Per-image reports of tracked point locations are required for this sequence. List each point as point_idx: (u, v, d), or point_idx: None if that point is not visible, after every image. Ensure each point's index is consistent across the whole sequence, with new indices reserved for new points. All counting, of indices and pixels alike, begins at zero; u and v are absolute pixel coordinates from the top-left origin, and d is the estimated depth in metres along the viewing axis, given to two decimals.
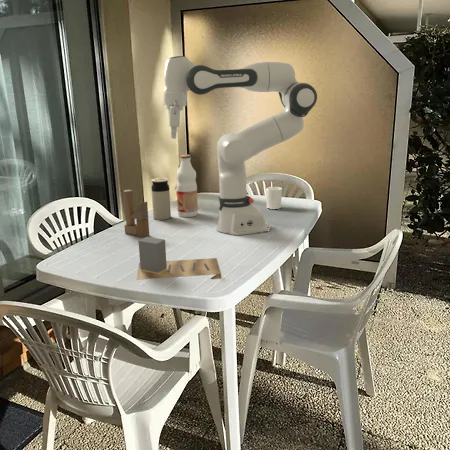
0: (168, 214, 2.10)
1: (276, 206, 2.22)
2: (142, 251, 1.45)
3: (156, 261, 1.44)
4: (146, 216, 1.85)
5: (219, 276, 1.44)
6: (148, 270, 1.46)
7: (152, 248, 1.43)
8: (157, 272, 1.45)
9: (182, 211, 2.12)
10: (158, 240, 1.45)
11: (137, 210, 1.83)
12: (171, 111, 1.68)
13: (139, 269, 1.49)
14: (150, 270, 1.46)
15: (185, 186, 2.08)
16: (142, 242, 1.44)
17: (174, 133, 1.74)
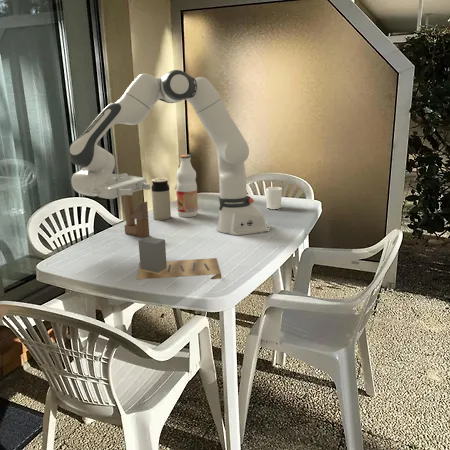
0: (168, 214, 2.10)
1: (276, 206, 2.22)
2: (142, 251, 1.45)
3: (156, 261, 1.44)
4: (146, 216, 1.85)
5: (219, 276, 1.44)
6: (148, 270, 1.46)
7: (152, 248, 1.43)
8: (157, 272, 1.45)
9: (182, 211, 2.12)
10: (158, 240, 1.45)
11: (137, 210, 1.83)
12: (99, 196, 1.55)
13: (139, 269, 1.49)
14: (150, 270, 1.46)
15: (185, 186, 2.08)
16: (142, 242, 1.44)
17: (125, 191, 1.54)
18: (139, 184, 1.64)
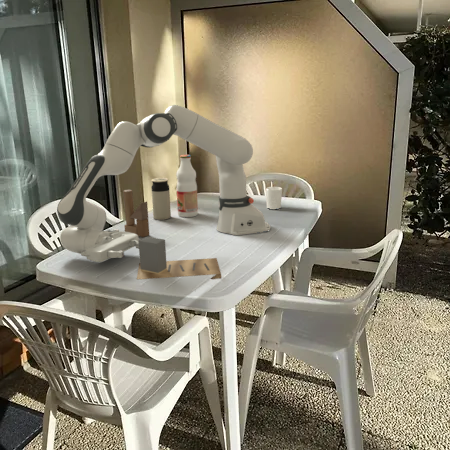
0: (168, 214, 2.10)
1: (276, 206, 2.22)
2: (142, 251, 1.45)
3: (156, 261, 1.44)
4: (146, 216, 1.85)
5: (219, 276, 1.44)
6: (148, 270, 1.46)
7: (152, 248, 1.43)
8: (157, 272, 1.45)
9: (182, 211, 2.12)
10: (158, 240, 1.45)
11: (137, 210, 1.83)
12: (88, 258, 1.48)
13: (139, 269, 1.49)
14: (150, 270, 1.46)
15: (185, 186, 2.08)
16: (142, 242, 1.44)
17: (115, 254, 1.47)
18: (131, 242, 1.57)
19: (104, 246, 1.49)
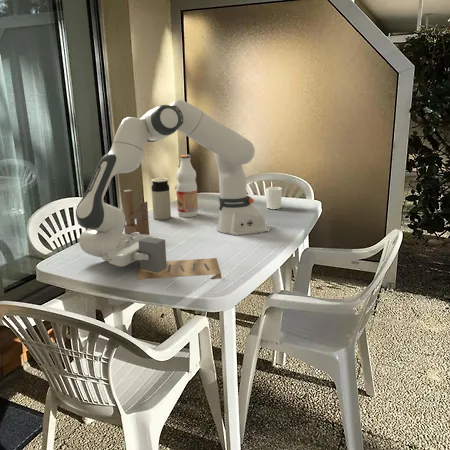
0: (168, 214, 2.10)
1: (276, 206, 2.22)
2: (142, 251, 1.45)
3: (156, 261, 1.44)
4: (146, 216, 1.85)
5: (219, 276, 1.44)
6: (148, 270, 1.46)
7: (152, 248, 1.43)
8: (157, 272, 1.45)
9: (182, 211, 2.12)
10: (158, 240, 1.45)
11: (137, 210, 1.83)
12: (110, 262, 1.43)
13: (139, 269, 1.49)
14: (150, 270, 1.46)
15: (185, 186, 2.08)
16: (142, 242, 1.44)
17: (142, 256, 1.44)
18: None
19: (126, 250, 1.45)
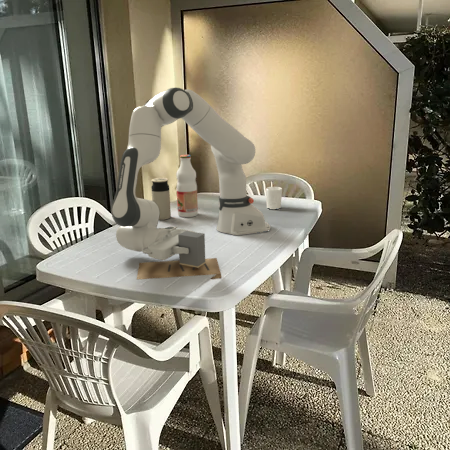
0: (168, 214, 2.10)
1: (276, 206, 2.22)
2: (182, 245, 1.46)
3: (196, 254, 1.45)
4: None
5: (219, 276, 1.44)
6: (187, 264, 1.47)
7: (192, 242, 1.44)
8: (197, 266, 1.46)
9: (182, 211, 2.12)
10: (198, 234, 1.46)
11: None
12: (150, 256, 1.44)
13: (139, 269, 1.49)
14: (189, 264, 1.47)
15: (185, 186, 2.08)
16: (182, 236, 1.45)
17: (182, 250, 1.45)
18: None
19: (166, 243, 1.46)
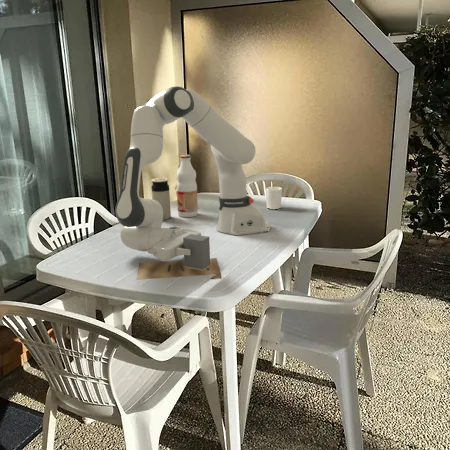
0: (168, 214, 2.10)
1: (276, 206, 2.22)
2: None
3: (201, 258, 1.45)
4: None
5: (219, 276, 1.44)
6: (192, 267, 1.48)
7: (197, 245, 1.45)
8: (202, 269, 1.46)
9: (182, 211, 2.12)
10: (203, 237, 1.47)
11: None
12: (155, 256, 1.44)
13: (139, 269, 1.49)
14: (194, 267, 1.48)
15: (185, 186, 2.08)
16: (187, 239, 1.46)
17: (184, 251, 1.43)
18: None
19: (171, 243, 1.46)
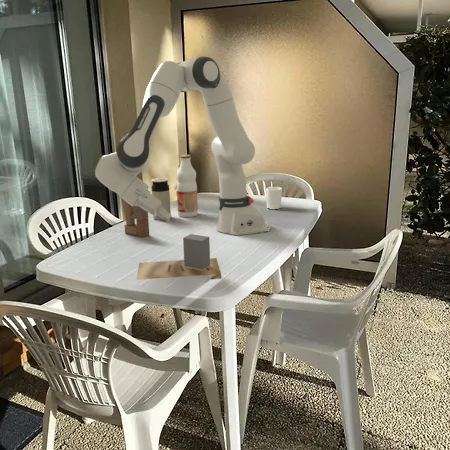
0: None
1: (276, 206, 2.22)
2: (187, 248, 1.47)
3: (201, 258, 1.45)
4: (146, 216, 1.85)
5: (219, 276, 1.44)
6: (192, 267, 1.48)
7: (197, 245, 1.45)
8: (202, 269, 1.46)
9: (182, 211, 2.12)
10: (203, 237, 1.47)
11: (137, 210, 1.83)
12: (142, 199, 1.45)
13: (139, 269, 1.49)
14: (194, 267, 1.48)
15: (185, 186, 2.08)
16: (187, 239, 1.46)
17: (165, 212, 1.50)
18: None
19: None
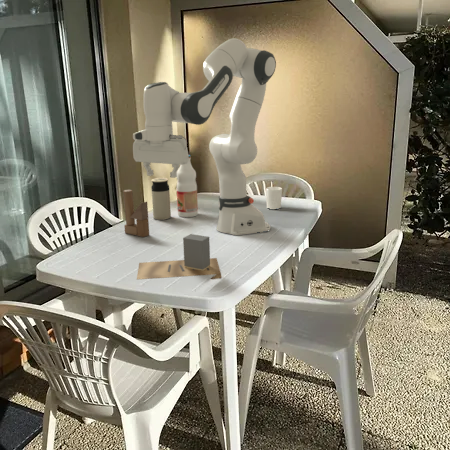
0: (168, 214, 2.10)
1: (276, 206, 2.22)
2: (187, 248, 1.47)
3: (201, 258, 1.45)
4: (146, 216, 1.85)
5: (219, 276, 1.44)
6: (192, 267, 1.48)
7: (197, 245, 1.45)
8: (202, 269, 1.46)
9: (182, 211, 2.12)
10: (203, 237, 1.47)
11: (137, 210, 1.83)
12: (181, 147, 1.46)
13: (139, 269, 1.49)
14: (194, 267, 1.48)
15: (185, 186, 2.08)
16: (187, 239, 1.46)
17: (175, 171, 1.51)
18: (149, 161, 1.55)
19: None
